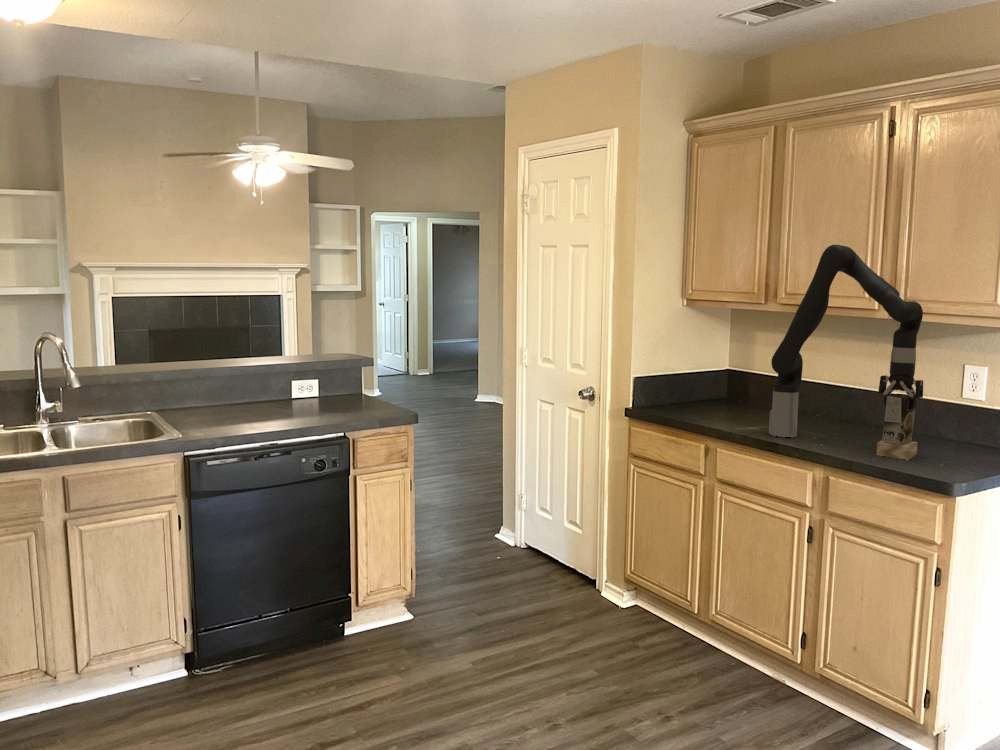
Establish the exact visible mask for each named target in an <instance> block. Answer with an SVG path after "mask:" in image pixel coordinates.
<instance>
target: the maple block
mask: <svg viewBox="0 0 1000 750" xmlns="http://www.w3.org/2000/svg"><path fill="white" fill-rule="evenodd" d="M918 444H919V443H918V441H911V442H908V443H905V444H902V445H897V444H892V443H888V442H883V441H882V439H881V440H880V441H878V442H877V444H876V455H880V456H879V457H881V456H887V457H886V458H888V457H894V458H893V459H895V458H900V459H899V460H901V459H906V460H905V461H910V460H911V459H910V458H912V457H913V458H915V457H916V456H917V455H918V454H917V453H918ZM915 455H916V456H915ZM914 456H915V457H914ZM913 458H912V459H913ZM909 459H910V460H909Z"/></svg>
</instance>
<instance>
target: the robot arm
mask: <svg viewBox="0 0 1000 750" xmlns="http://www.w3.org/2000/svg"><path fill="white" fill-rule="evenodd" d="M839 272H840V273H844V274H845V275H847V276H849V277H850V278H852V279H854V280H855V281H856V282H857V283H858V284H859V285H860V287H861V288H862V289H863V291H864V292H865V293H866V294H867V295H868V296H869V297H870V298H871V299H872V300H874V301H875V302H876V303H877V304H879V305H881V306H882V309H884V311H885V312H886V313H887V315H888V316H890V318H891V319H893V320H894V321H896V322H898V323H900V324H899V327H898V328H897V330H895V331H894V333H893V336H892V349H891V352H890V363H889V364H890V365H889V376H888V375H886V374H885V375H881V376H880V378H879V384H878V385H879V386H878V392H879V394H883V400H882V401H883V402H882V403H883V405H884V407H886V402H887V396H889V395H892V393H893V392H894V391H901V392H905V394H908V395H909V397H910V399H909V410H914V409H915V410H916V407H917V400H918V399H922V398H923V397H924V380H923V379H917V380H916V379H915V378H914V376H915V374H916V373H915V371H916V361H917V339H918V338H917V336H918V333H919V330H920V328H921V324H922V321H923V315H924V311H923V307H922V305H921V304H920V303H919V302H918V301H914V300H911V301H910V300H909V301H908V300H907V301H906V300H904V299H903V298H902V297H900V292H899V291H898V290H897V288H895V287H894V286H893V285H891V283H889V282H887V281H886V280H885V279H884V278H882V277H881V276H880V275H878V274H877V273H876V272H875V271H873V270H872V269H871V268H870V267H869V266H868V265H867V264H866V263H865V262H864V261H863V260H862V259H861V257H860V256H859V255H858V254H857V252H856V251H854V249H852V248H851V247H849V246H845V245H842V244H831V245H829V246H827V247H826V248H825V249H824V251H823V252H822V254H821V256H820V259H819V261H818V264H817V267H816V270H815V272H814V275H813V277H812V280H811V282H810V284H809V286H808V288H807V290H806V293H805V294H804V296H803V298H802V300H801V302H800V304H799V306H798V308H797V309H796V312H795V315H794V316H793V318H792V321H791V323H790V325H789V327H788V329H787V331H786V334H785V336H784V338H783V339H782V340H781V343H780V344H779V345H778V347H777V348H776V350H775V352H774V354H773V355H772V358H771V362H770V363H771V368H772V369H773V371H774V373H777V377H776V380H775V381H774V383H773V384H772V385H773V386H772V388H773V389H772V406H771V408H772V409H770V410H769V421H768V423H769V424H768V434H769V435H771V436H773V437H776V436H778V438H785V437H791V438H796V437H797V433H798V431H797V429H798V413H799V391H800V386H801V384H802V377H803V376H802V375H803V365H804V363H803V360H804V359H803V356H802V355H801V353H800V351H801V349H802V347H803V345H804V344H805V342H807V340H808V338H809V337H810V336H812V334H813V333H814V332H815V330H817V328H818V327H819V325H820V324H821V322H822V320H823V318H824V317H825V314H826V311H827V310H828V306H829V300H830V288H831V286H832V283H833V281H834V279H835V277H836V276H837V274H838V273H839ZM888 383H890V384H889V385H887V384H888ZM913 385H914V387H913Z"/></svg>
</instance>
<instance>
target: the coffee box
mask: <svg viewBox="0 0 1000 750" xmlns="http://www.w3.org/2000/svg"><path fill="white" fill-rule="evenodd" d="M909 399H910V397H909V395H908V394H907V393H894V394H890V395H889V396H887V402H886V406H885V413H884V421H883V429H882V439H881V440H882V441H883V442H888V443H892V444H897V445H902V444H905V443H908V442H911V441H912V439H913V432H914V423H915V414H916V408H915V409H914V410H909ZM912 442H913V441H912Z"/></svg>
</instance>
